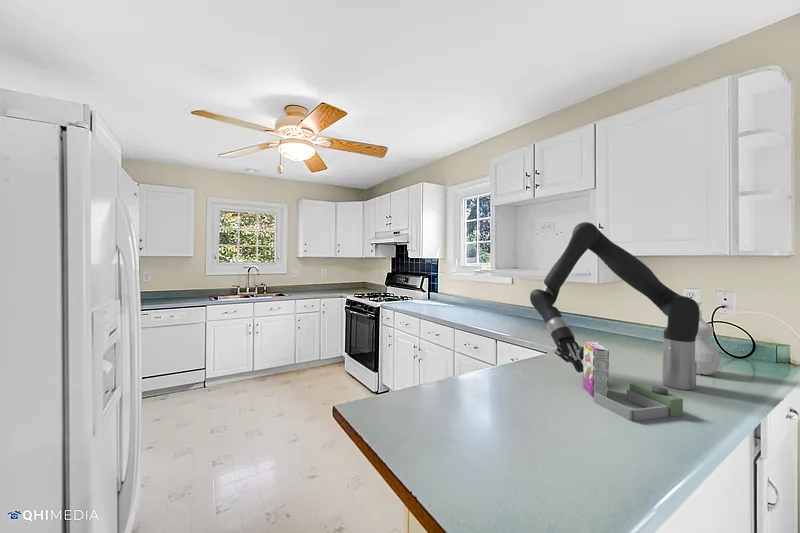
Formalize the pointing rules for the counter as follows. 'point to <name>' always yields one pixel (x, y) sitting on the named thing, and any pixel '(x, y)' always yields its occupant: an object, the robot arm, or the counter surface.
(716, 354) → the soap bottle
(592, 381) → the candy bar box
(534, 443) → the counter surface
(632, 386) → the frame with green block
